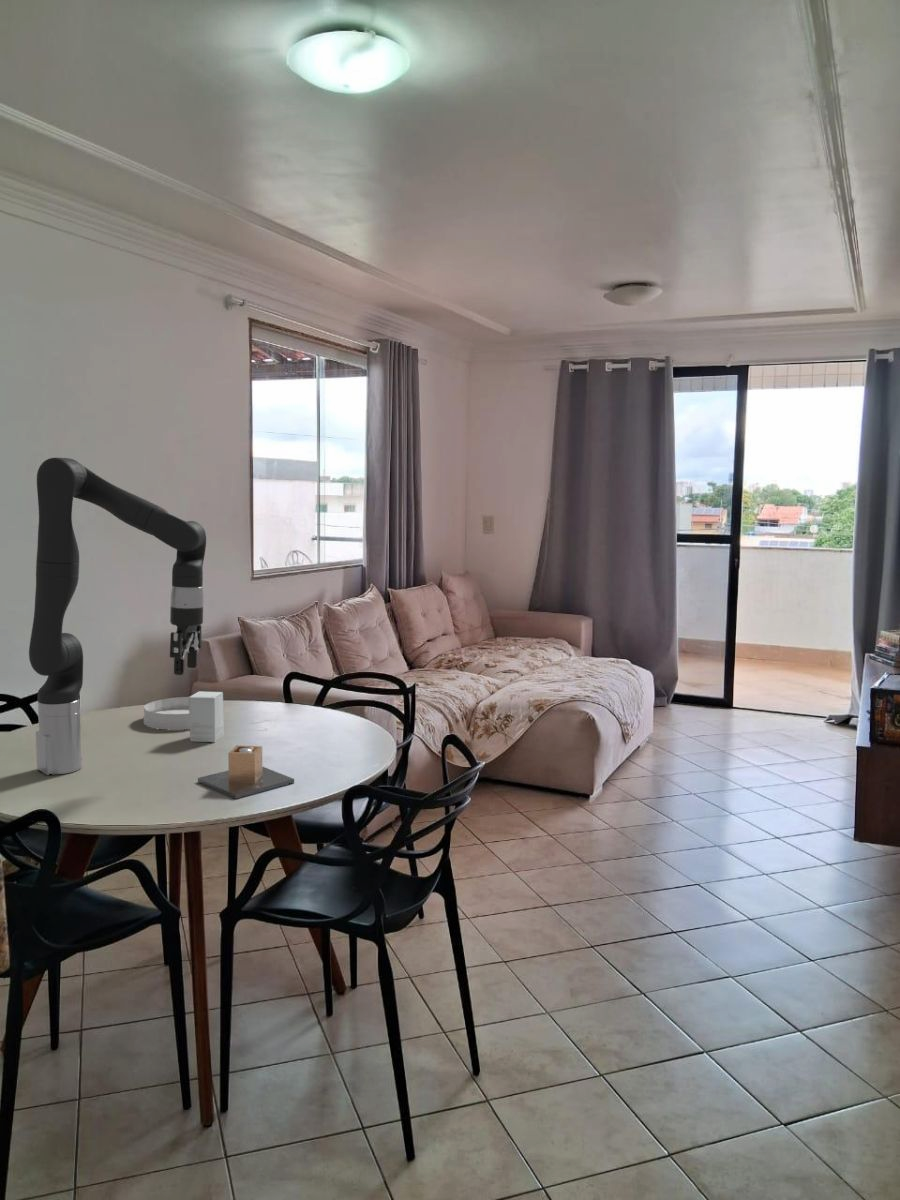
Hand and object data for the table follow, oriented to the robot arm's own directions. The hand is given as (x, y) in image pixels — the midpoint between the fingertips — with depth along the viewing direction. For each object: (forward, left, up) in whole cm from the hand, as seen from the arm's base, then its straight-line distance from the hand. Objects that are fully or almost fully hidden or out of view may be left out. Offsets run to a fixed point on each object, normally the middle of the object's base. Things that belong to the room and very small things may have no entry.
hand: (185, 670), depth 209 cm
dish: (+23, +44, -25) cm, 56 cm away
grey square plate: (+5, -17, -25) cm, 31 cm away
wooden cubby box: (+5, -17, -24) cm, 30 cm away
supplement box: (+18, +22, -25) cm, 38 cm away
